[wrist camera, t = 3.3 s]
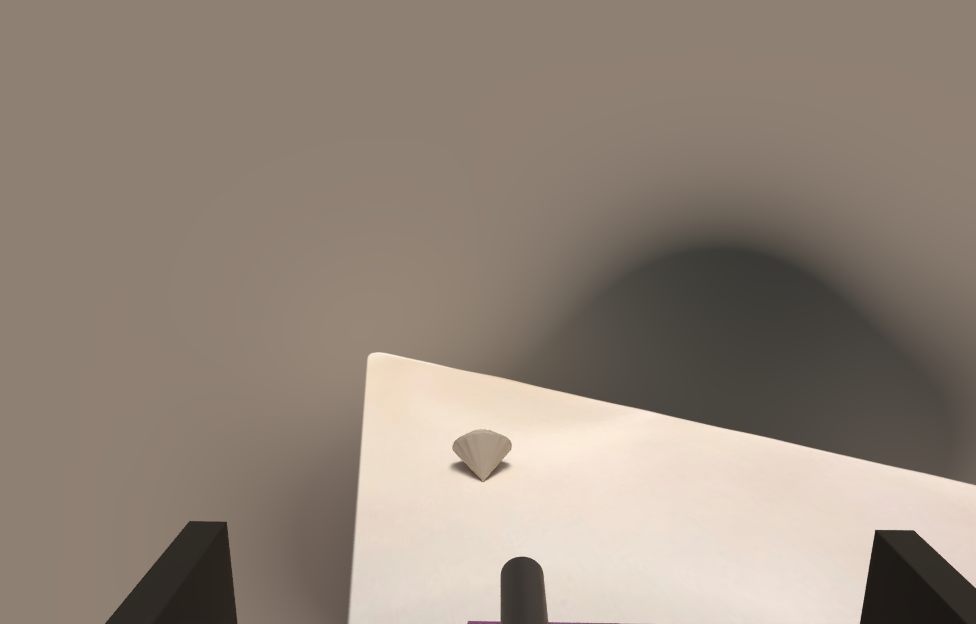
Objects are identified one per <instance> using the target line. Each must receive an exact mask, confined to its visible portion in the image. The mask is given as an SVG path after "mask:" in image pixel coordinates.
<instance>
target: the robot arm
mask: <svg viewBox="0 0 976 624" xmlns="http://www.w3.org/2000/svg"><path fill="white" fill-rule="evenodd" d="M105 624H237V617H236V607H235V597H234V588H233V577H232V568H231V558H230V549H229V539H228V530H227V522H203V521H190V522H189V523H188V524H187V525H186V526H185V527H184V529H183V530H182V531H181V532H180V533H179V535H178V536H177V537H176V538H175V540H174V541H173V542H172V543H171V544H170V546H169V547H168V548H167V549H166V550H165V552H164V553H163V554H162V555H161V557H160V558H159V559H158V560H157V562H156V563H155V564H154V565H153V566H152V568H151V569H150V570H149V571H148V573H146V575H145V576H144V577H143V578H142V580H141V581H140V582H139V583H138V584H137V586H136V587H135V588H134V589H133V591H132V592H131V593H130V594H129V595H128V597H127V598H126V599H125V600H124V601H123V603H122V604H121V605H120V606H119V608H118V609H117V610H116V611H115V612H114V614H113V615H112V616H111V617H110V618H109V620H108V621H107V622H106V623H105ZM860 624H976V588H975V587H974V586H973V585H972V584H971V583H969V582H968V581H967V580H966V579H965V578H964V577H963V576H962V575H961V574H960V573H959V572H958V571H957V570H956V569H955V568H953V567H952V566H951V565H950V564H949V563H948V562H947V561H946V560H945V559H944V558H943V557H942V556H941V555H940V554H938V553H937V552H936V551H935V550H934V549H933V548H932V547H931V546H930V545H929V544H928V543H927V542H926V541H925V540H923V539H922V538H921V537H920V536H919V535H918V534H917V533H916V532H915V531H913V530H875V535H874V541H873V547H872V553H871V560H870V566H869V572H868V578H867V584H866V590H865V596H864V602H863V608H862V614H861V620H860Z"/></svg>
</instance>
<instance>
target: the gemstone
mask: <svg viewBox="0 0 976 624" xmlns="http://www.w3.org/2000/svg"><path fill="white" fill-rule="evenodd" d="M452 447H453V451H454V452H455V453H456V454H457V455H458V456H459V457H460V458H461V459H462V460H463V461H464V462H465V463H466V464H467V466H468V467H469V468H470V469H471V470H472V471H473V472H474V473H475V474H476V475H477V476H478V477H479V478H480V479H481V480H482V481H483V482H484V480H485V479H486V478H487V477H488V476H489V475H490V473H491V472H492V471H493V470H494V469H495V467H496V466H497V465H498V464H499V463H500V462H501V460H502V459H503V458H504V457H505V456H506V455H507V453H508V452H509V451H510V450H511V447H512V444H511V441H510V440H509V439H508V438H507V437H505V436H503V435H501V434H498V433H496V432H493V431H491V430H485V429H484V430H475V431H472V432H470V433H467V434H465V435H463V436H461V437H459V438H458V439H457V440H456V441H455V442H454V444H453V446H452Z"/></svg>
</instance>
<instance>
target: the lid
mask: <svg viewBox="0 0 976 624" xmlns="http://www.w3.org/2000/svg"><path fill="white" fill-rule="evenodd" d="M468 624H618V623H554V622H548V615H547V605H546V595H545V585H544V575H543V570H542V568H541V566H540V565H539V564H538V563H537V562H536V561H535V560H533V559H531V558H528V557H516V558H513V559H511V560H509V561H508V562H507V563H506V564H505V565H504V566H503V568H502V571H501V622H489V621H468Z"/></svg>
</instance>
